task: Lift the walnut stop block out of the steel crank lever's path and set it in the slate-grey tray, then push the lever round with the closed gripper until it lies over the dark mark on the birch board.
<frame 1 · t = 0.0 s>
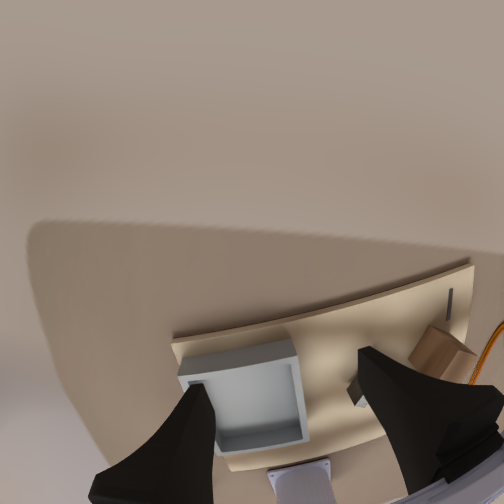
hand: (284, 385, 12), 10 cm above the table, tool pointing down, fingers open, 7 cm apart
stop block: (429, 346, 23), point 1 cm above the table, touching base board
motor: (501, 369, 28), on the table
crank lever: (415, 388, 22), point 2 cm above the table, hinge at 55.0°
base board: (349, 389, 24), on the table
tray: (249, 397, 23), resting on base board
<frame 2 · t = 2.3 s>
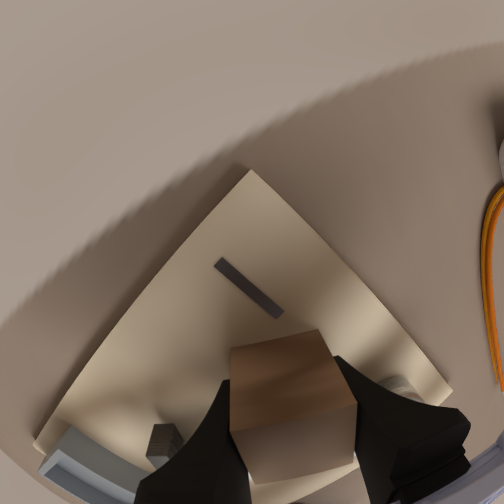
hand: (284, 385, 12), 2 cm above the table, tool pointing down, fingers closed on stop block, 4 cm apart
stop block: (281, 372, 13), point 1 cm above the table, touching base board, gripper
crank lever: (297, 446, 12), point 2 cm above the table, hinge at 55.0°
base board: (210, 454, 15), on the table
tray: (113, 478, 15), resting on base board
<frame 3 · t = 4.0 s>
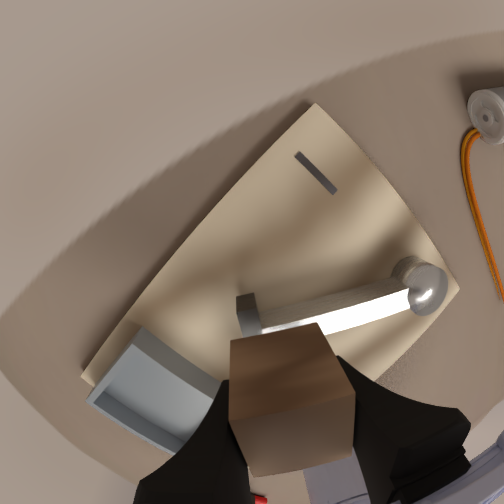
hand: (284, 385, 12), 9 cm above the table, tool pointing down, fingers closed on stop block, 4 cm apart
stop block: (280, 365, 13), point 7 cm above the table, touching gripper
tow hook: (228, 499, 28), on the table
crank lever: (352, 306, 18), point 2 cm above the table, hinge at 55.0°
base board: (272, 344, 21), on the table
tray: (168, 396, 21), resting on base board
when the fingers open (3 cm above the table, at t = 6.1 s): stop block stays where it is, resting on tray.
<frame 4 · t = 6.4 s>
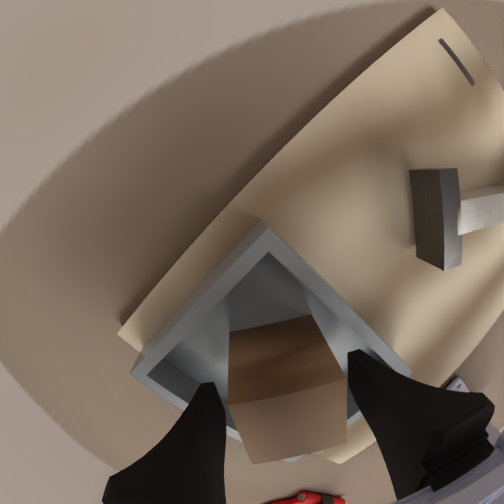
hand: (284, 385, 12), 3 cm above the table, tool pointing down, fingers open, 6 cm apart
stop block: (277, 356, 14), point 1 cm above the table, touching tray
base board: (424, 258, 14), on the table
tray: (277, 355, 14), resting on base board
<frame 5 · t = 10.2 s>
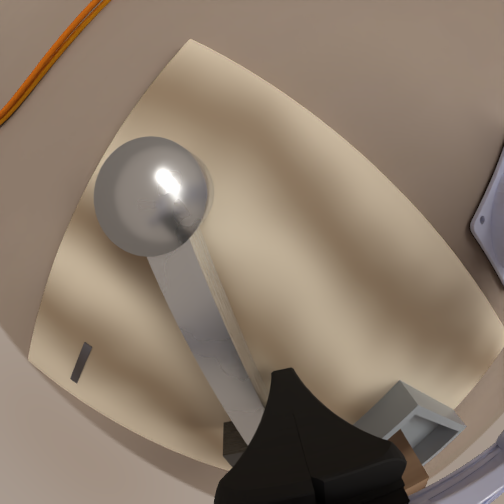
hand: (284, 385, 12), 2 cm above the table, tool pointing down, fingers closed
stop block: (375, 452, 15), point 1 cm above the table, touching tray
crank lever: (215, 333, 11), point 2 cm above the table, hinge at 54.4°, touching gripper
base board: (312, 374, 14), on the table
tray: (376, 446, 16), resting on base board
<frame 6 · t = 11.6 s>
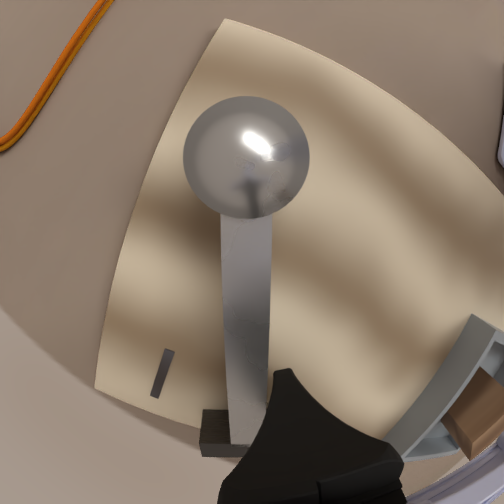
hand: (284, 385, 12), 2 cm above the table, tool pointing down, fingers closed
stop block: (459, 395, 15), point 1 cm above the table, touching tray
motor: (22, 5, 8), on the table
crank lever: (245, 315, 10), point 2 cm above the table, hinge at 23.0°, touching gripper
base board: (398, 324, 14), on the table
tray: (458, 389, 15), resting on base board
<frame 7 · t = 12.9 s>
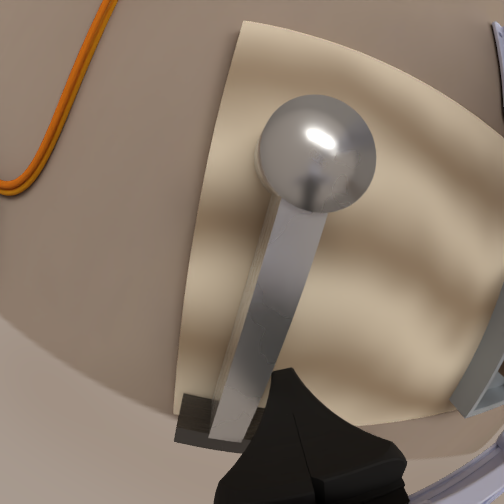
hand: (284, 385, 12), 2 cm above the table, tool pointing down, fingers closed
motor: (2, 44, 9), on the table
crank lever: (264, 305, 10), point 2 cm above the table, hinge at -3.9°, touching gripper
base board: (450, 285, 14), on the table
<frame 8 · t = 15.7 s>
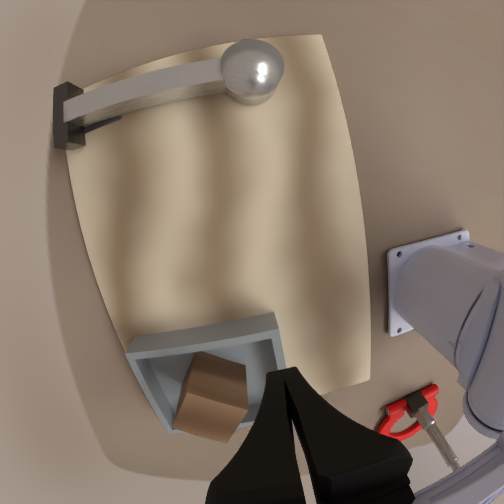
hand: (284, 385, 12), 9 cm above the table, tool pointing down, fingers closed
stop block: (212, 375, 21), point 1 cm above the table, touching tray
tow hook: (406, 414, 26), on the table
crank lever: (161, 87, 15), point 2 cm above the table, hinge at -4.1°
base board: (224, 250, 20), on the table
tray: (216, 373, 21), resting on base board
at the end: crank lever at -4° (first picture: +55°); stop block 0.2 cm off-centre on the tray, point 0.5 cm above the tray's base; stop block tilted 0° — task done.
